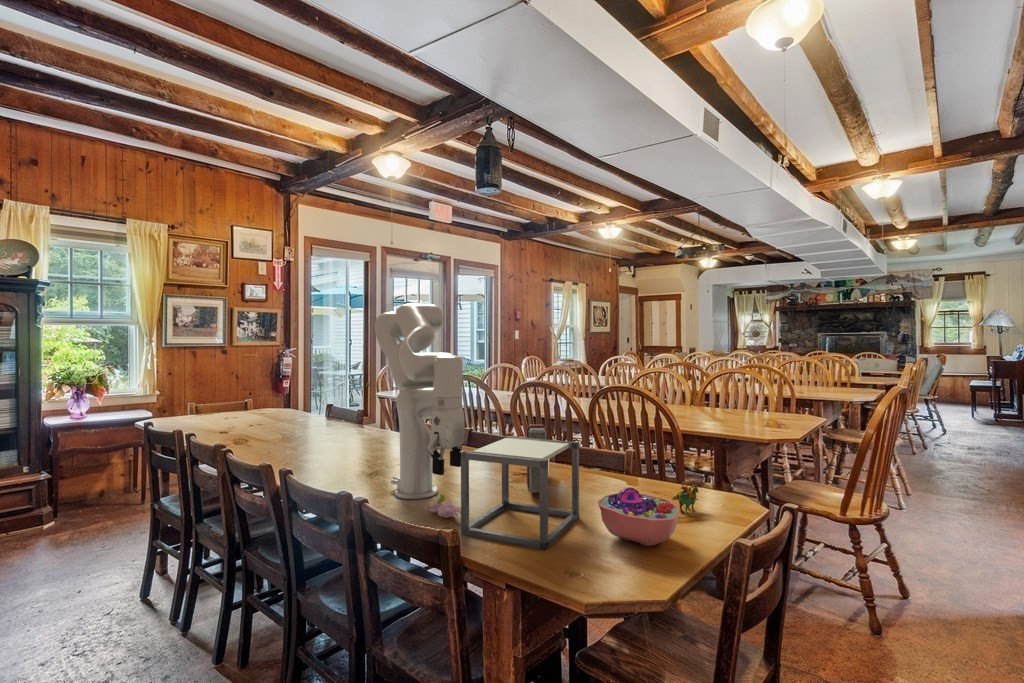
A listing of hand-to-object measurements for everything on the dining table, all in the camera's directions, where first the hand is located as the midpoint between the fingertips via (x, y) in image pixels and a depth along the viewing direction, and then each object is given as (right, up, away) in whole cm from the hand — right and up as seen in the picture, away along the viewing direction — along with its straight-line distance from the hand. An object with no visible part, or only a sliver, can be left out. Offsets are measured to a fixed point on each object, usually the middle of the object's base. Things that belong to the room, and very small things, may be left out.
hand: (447, 469), depth 137 cm
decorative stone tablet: (+25, -12, +29) cm, 40 cm away
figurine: (+63, -12, +2) cm, 64 cm away
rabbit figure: (0, -13, 0) cm, 13 cm away
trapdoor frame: (+20, -12, -7) cm, 24 cm away
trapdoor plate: (+20, +6, -7) cm, 22 cm away
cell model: (+46, -12, -16) cm, 51 cm away
